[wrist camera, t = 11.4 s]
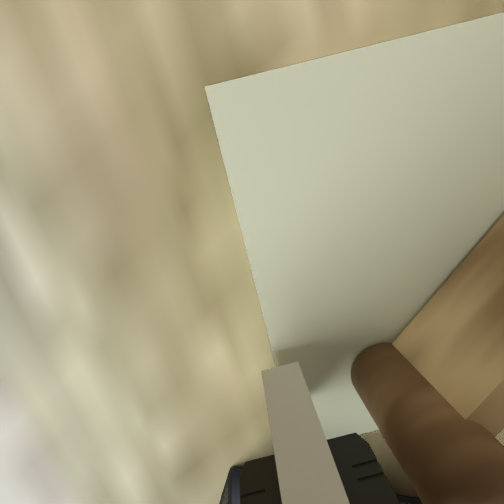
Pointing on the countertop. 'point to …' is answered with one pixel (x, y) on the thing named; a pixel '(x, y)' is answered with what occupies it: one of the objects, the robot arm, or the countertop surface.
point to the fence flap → (446, 385)
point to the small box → (232, 490)
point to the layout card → (363, 192)
